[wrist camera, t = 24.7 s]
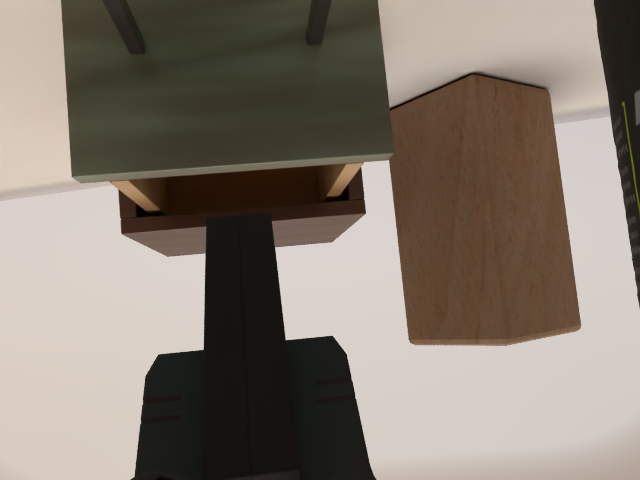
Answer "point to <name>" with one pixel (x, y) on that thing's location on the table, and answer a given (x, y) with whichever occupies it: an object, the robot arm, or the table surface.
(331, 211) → the cabinet
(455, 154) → the wooden block
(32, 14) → the table surface
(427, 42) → the table surface
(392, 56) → the table surface
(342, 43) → the drawer
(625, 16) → the supplement tub
